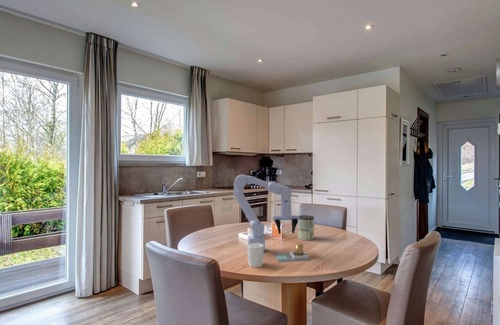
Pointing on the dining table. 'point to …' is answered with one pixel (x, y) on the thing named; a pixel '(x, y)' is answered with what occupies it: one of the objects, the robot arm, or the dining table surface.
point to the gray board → (291, 257)
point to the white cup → (255, 254)
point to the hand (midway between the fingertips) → (286, 233)
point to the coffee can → (306, 227)
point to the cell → (298, 249)
